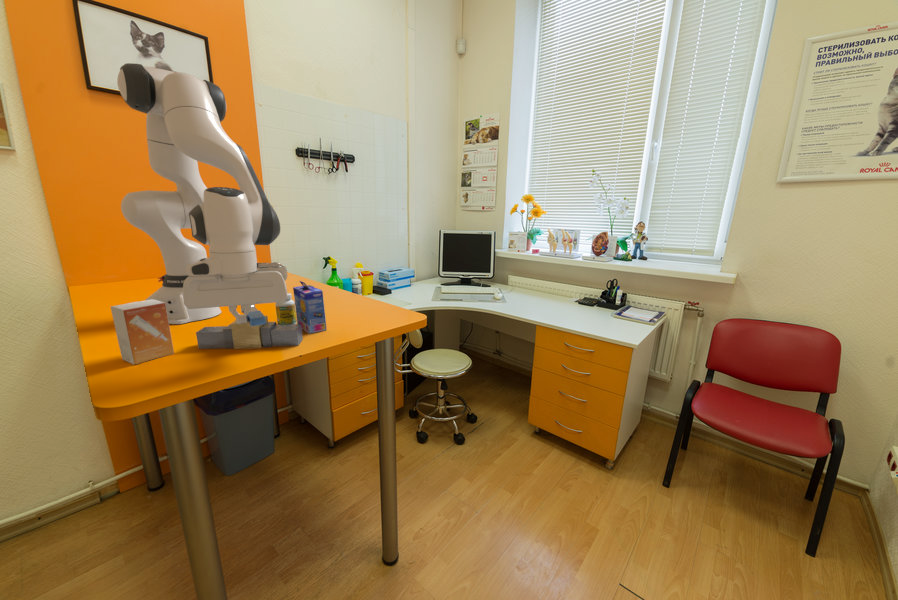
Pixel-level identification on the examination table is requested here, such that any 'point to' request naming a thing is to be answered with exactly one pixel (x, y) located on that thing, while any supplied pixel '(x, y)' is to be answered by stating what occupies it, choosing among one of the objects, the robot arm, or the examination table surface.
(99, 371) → the examination table surface
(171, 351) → the small box
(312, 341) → the examination table surface
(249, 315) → the lever
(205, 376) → the examination table surface
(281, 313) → the supplement bottle
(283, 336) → the valve pipe
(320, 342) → the examination table surface
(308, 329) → the ink cartridge box
